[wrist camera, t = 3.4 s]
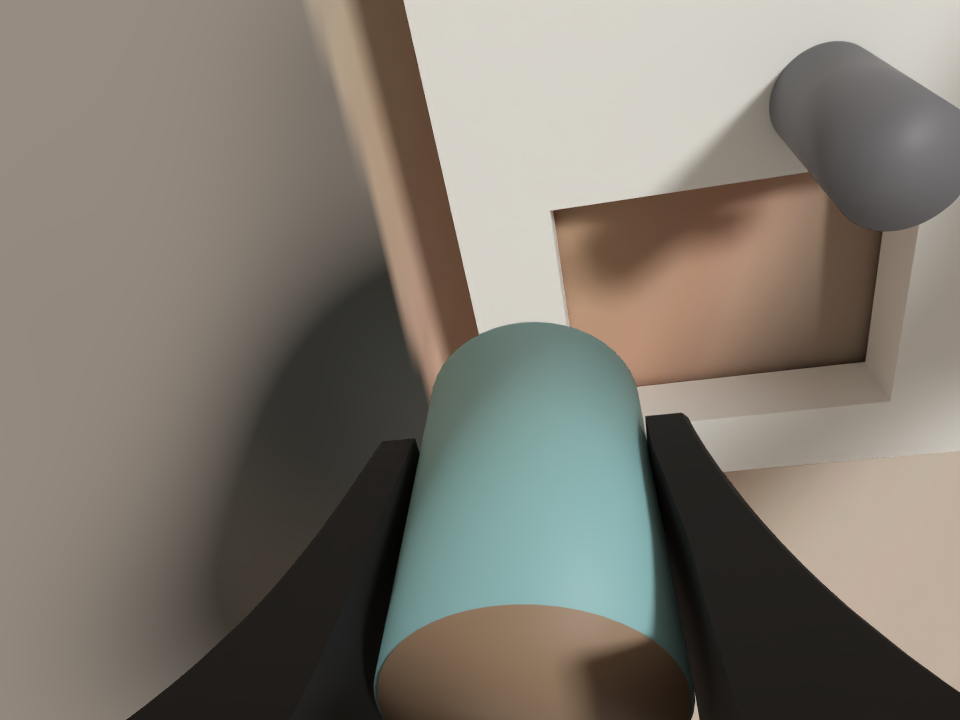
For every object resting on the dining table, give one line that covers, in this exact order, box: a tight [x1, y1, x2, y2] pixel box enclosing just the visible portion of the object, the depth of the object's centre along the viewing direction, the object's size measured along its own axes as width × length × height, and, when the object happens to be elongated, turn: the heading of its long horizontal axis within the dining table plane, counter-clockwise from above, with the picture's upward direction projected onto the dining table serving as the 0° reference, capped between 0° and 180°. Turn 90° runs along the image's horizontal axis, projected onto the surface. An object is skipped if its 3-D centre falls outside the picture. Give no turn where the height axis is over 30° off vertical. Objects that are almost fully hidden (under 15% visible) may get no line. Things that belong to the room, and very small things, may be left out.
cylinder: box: [374, 322, 695, 720], centre depth 12 cm, size 4×4×6 cm
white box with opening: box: [404, 0, 960, 472], centre depth 17 cm, size 14×20×6 cm
